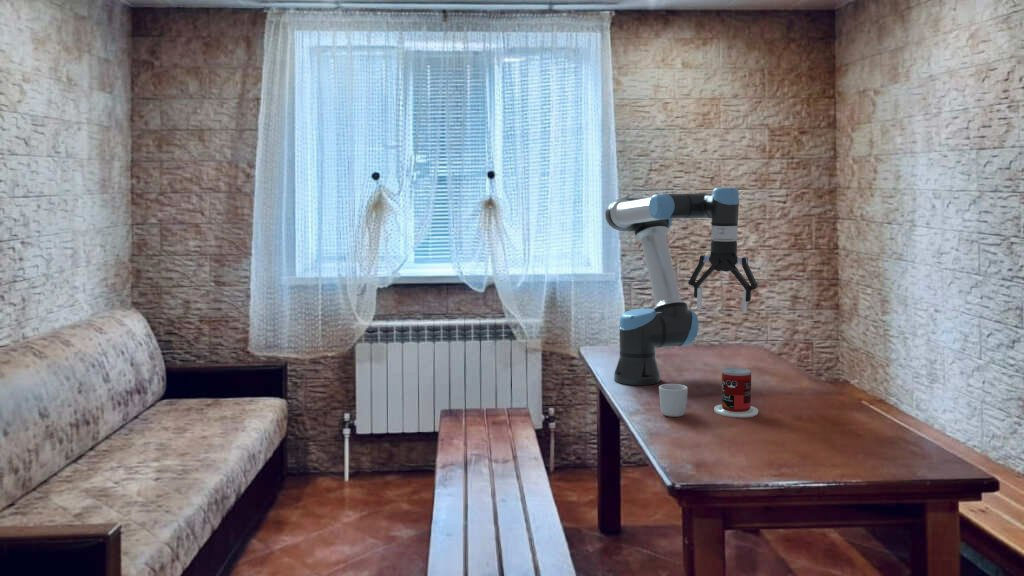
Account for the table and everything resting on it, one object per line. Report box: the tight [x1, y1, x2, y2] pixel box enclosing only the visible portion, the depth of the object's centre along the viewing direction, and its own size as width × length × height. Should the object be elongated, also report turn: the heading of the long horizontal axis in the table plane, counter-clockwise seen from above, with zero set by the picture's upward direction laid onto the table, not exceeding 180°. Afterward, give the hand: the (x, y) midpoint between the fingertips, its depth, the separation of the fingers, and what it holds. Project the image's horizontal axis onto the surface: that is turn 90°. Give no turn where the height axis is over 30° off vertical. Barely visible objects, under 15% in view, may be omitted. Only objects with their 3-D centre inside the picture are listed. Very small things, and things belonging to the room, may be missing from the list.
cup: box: [658, 383, 689, 418], centre depth 231 cm, size 11×8×8 cm
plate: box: [713, 403, 759, 419], centre depth 232 cm, size 12×12×1 cm
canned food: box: [721, 367, 752, 412], centre depth 231 cm, size 8×8×11 cm
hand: (721, 310), depth 246 cm, fingers open, 13 cm apart
